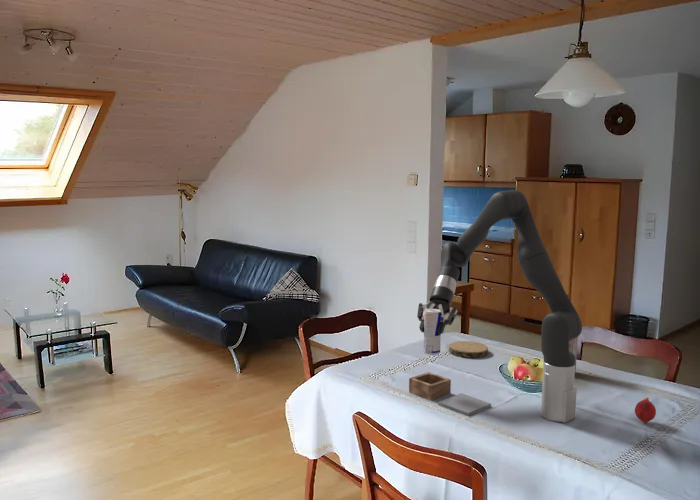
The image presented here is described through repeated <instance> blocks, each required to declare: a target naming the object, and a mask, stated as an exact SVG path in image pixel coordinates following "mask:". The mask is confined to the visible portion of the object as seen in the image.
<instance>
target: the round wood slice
mask: <svg viewBox="0 0 700 500" xmlns="http://www.w3.org/2000/svg"><path fill="white" fill-rule="evenodd" d="M488 347H489V346H488V345H486V344H484V343H481V342H477V341H472V340H469V341H468V340H460V341H459V340H457V341H453V342H451V343H450V344H449V349H448V351H449V354H451V355H452V356H455V357H459V358H462V359H464V358H465V359H481V358H485V357H486V356H488V354H489V353H488V352H489V348H488ZM484 356H485V357H484Z"/></svg>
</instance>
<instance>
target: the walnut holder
mask: <svg viewBox="0 0 700 500" xmlns="http://www.w3.org/2000/svg"><path fill="white" fill-rule="evenodd" d="M408 379H409V380H408V393H410V394H412V395H415V396H418V397H420V398H423V399H426V400H428V401H434V400H437V399H439V398H441V397H445V396H447V395H450V394H451V391H452V388H451V387H452V386H451V385H452V380H451V379H450V378H447V377H445V376H441V375H438V374H436V373H433V372H425V373H421V374H418V375H415V376H412V377H409V378H408Z"/></svg>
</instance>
